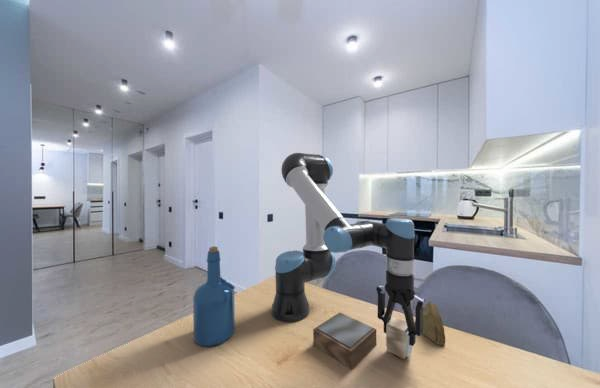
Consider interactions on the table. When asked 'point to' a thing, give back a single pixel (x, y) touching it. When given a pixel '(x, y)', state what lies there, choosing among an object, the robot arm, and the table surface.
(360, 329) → the walnut plinth
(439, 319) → the rock
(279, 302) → the robot arm
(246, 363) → the table surface
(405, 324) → the beech block
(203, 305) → the wine bottle
